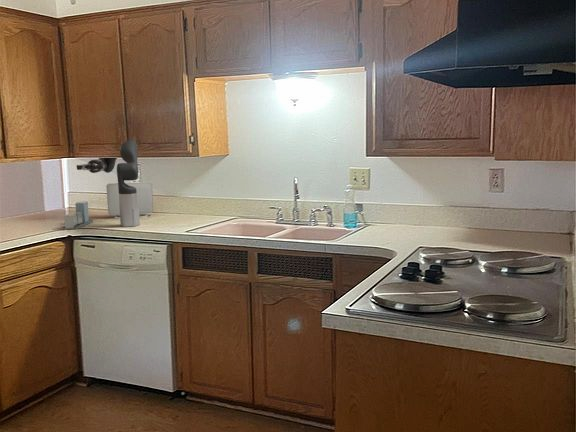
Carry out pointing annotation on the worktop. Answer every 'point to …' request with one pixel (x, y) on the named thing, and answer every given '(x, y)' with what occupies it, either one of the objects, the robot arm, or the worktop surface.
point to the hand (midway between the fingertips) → (85, 167)
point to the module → (83, 210)
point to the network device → (142, 198)
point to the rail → (74, 221)
